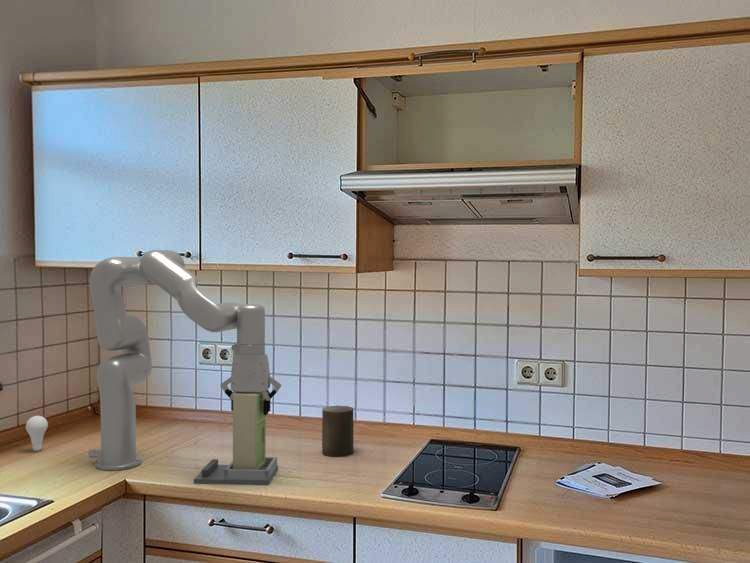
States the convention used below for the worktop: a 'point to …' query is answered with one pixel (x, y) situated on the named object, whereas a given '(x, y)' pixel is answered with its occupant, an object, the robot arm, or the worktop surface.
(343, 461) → the worktop surface
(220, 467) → the tray
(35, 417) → the lightbulb
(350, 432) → the pillar candle
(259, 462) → the beige tall block
